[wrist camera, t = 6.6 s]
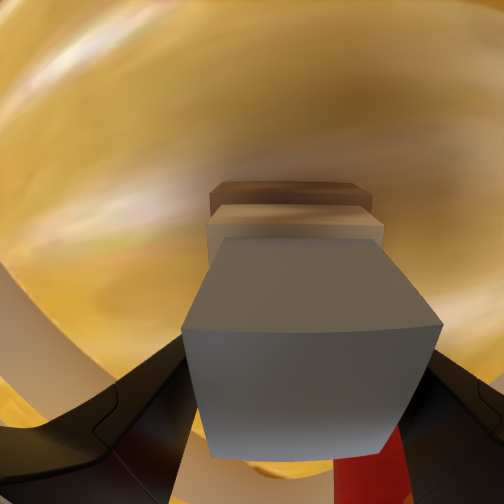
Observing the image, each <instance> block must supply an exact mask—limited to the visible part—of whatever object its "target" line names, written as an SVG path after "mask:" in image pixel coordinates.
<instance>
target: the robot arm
mask: <svg viewBox="0 0 504 504" xmlns="http://www.w3.org/2000/svg"><path fill="white" fill-rule="evenodd" d="M197 408H198V405H197V401H196V397H195V393H194V389H193V384H192V380H191V376H190V371H189V367H188V362H187V357H186V352H185V347H184V342H183V337H182V334H181V335H180V336H178V337H177V338H176V339H174V340H173V341H171V342H170V343H169V344H167V345H166V346H165V347H163V348H162V349H161V350H159V351H158V352H156V353H155V354H154V355H152V356H151V357H150V358H148V359H147V360H145V361H144V362H143V363H141V364H140V365H139V366H137V367H136V368H134V369H133V370H132V371H130V372H129V373H127V374H126V375H125V376H123V377H122V378H120V379H119V380H118V381H116V382H115V384H112V385H110V386H109V387H108V388H106V389H105V390H103V391H102V392H100V393H99V394H97V395H96V396H94V397H93V398H91V399H90V400H88V401H86V402H84V403H83V404H81V405H79V406H78V407H76V408H74V409H72V410H70V411H69V412H66V413H65V414H63V415H61V416H59V417H57V418H55V419H53V420H51V421H49V422H48V423H45V424H43V425H41V426H38V427H34V428H13V427H3V426H0V504H168V503H169V500H170V497H171V493H172V490H173V487H174V483H175V480H176V477H177V473H178V470H179V467H180V463H181V460H182V457H183V453H184V450H185V447H186V444H187V440H188V437H189V434H190V431H191V427H192V424H193V421H194V418H195V414H196V411H197ZM397 425H398V429H399V433H400V437H401V441H402V446H403V450H404V455H405V459H406V464H407V469H408V474H409V479H410V485H411V491H412V496H413V503H414V504H504V395H503V394H501V393H500V392H498V391H496V390H495V389H493V388H491V387H490V386H489V385H487V384H486V383H484V382H483V381H481V380H480V379H477V377H476V376H474V375H473V374H471V373H470V372H468V371H467V370H465V369H464V368H462V367H461V366H459V365H458V364H456V363H455V362H453V361H452V360H450V359H449V358H447V357H446V356H444V355H443V354H441V353H440V352H438V351H437V350H435V349H434V350H433V353H432V355H431V358H430V360H429V362H428V365H427V367H426V369H425V371H424V373H423V376H422V378H421V380H420V382H419V384H418V386H417V388H416V390H415V392H414V394H413V396H412V398H411V400H410V402H409V404H408V406H407V407H406V409H405V411H404V413H403V415H402V416H401V418H400V420H399V422H398V423H397Z"/></svg>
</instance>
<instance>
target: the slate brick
mask: <svg viewBox="0 0 504 504" xmlns="http://www.w3.org/2000/svg"><path fill="white" fill-rule="evenodd" d="M442 327H443V323H442V321H441V320H440V319H439V317H438V316H437V315H436V314H435V312H434V311H433V310H432V308H431V307H430V306H429V305H428V303H427V302H426V301H425V300H424V298H423V297H422V296H421V295H420V293H419V292H418V291H417V290H416V288H415V287H414V286H413V285H412V284H411V282H410V281H409V280H408V279H407V278H406V276H405V275H404V274H403V273H402V272H401V271H400V269H399V268H398V267H397V266H396V265H395V264H394V262H393V261H392V260H391V259H390V258H389V257H388V256H387V255H386V253H385V252H384V251H383V250H382V249H381V248H380V247H379V246H378V245H377V243H376V242H375V241H374V240H373V239H331V238H224V240H223V242H222V244H221V246H220V248H219V250H218V252H217V254H216V256H215V258H214V260H213V262H212V264H211V266H210V268H209V270H208V272H207V274H206V276H205V278H204V281H203V283H202V285H201V287H200V289H199V291H198V293H197V295H196V297H195V299H194V302H193V304H192V306H191V308H190V310H189V312H188V314H187V316H186V319H185V321H184V323H183V325H182V327H181V332H182V337H183V342H184V347H185V352H186V357H187V362H188V367H189V371H190V376H191V380H192V384H193V389H194V393H195V397H196V401H197V405H198V409H199V413H200V417H201V421H202V425H203V428H204V432H205V435H206V439H207V442H208V446H209V449H210V453H211V456H212V458H220V459H231V460H244V461H268V462H294V461H317V460H331V459H341V458H350V457H358V456H365V455H371V454H377V453H379V452H380V451H381V449H382V448H383V446H384V445H385V443H386V441H387V440H388V438H389V437H390V435H391V433H392V432H393V430H394V428H395V427H396V425H397V423H398V422H399V420H400V418H401V416H402V415H403V413H404V411H405V409H406V407H407V406H408V404H409V402H410V400H411V398H412V396H413V394H414V392H415V390H416V388H417V386H418V384H419V382H420V380H421V378H422V376H423V373H424V371H425V369H426V367H427V365H428V362H429V360H430V358H431V355H432V353H433V350H434V348H435V346H436V343H437V340H438V338H439V335H440V333H441V330H442Z"/></svg>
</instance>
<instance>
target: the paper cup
mask: <svg viewBox="0 0 504 504" xmlns="http://www.w3.org/2000/svg"><path fill="white" fill-rule="evenodd" d="M333 466H334V504H414V503H413V496H412V491H411V485H410V479H409V474H408V469H407V464H406V459H405V455H404V450H403V446H402V441H401V437H400V433H399V429H398V425H396V427H395V428H394V430H393V432H392V433H391V435H390V437H389V438H388V440H387V441H386V443H385V445H384V446H383V448H382V449H381V451H380V452H379V453H377V454H371V455H365V456H358V457H350V458H341V459H333Z"/></svg>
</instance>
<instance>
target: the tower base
mask: <svg viewBox="0 0 504 504" xmlns="http://www.w3.org/2000/svg"><path fill="white" fill-rule="evenodd" d="M371 203H372V195H371V194H369V193H368V192H366V191H364V190H362V189H361V188H359V187H357V186H356V185H354V184H349V183H324V182H223V183H222V184H220V185H219V186H218V187H217V188H216V189H214V190H213V191H212V192H211V193H210V211H211V219H210V220H209V221H208V222H207V224H206V232H207V245H208V257H209V268H210V266H211V264H212V262H213V260H214V258H215V256H216V254H217V252H218V250H219V248H220V246H221V244H222V242H223V240H224V238H331V239H373V240H374V241H375V242H376V243H377V245H378V246H379V247H380V248H381V249H382V245H383V237H384V229H385V226H384V225H383V224H382V223H381V222H380V221H378V220H377V219H376V218H375V217H374V216H372V215H371Z"/></svg>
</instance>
